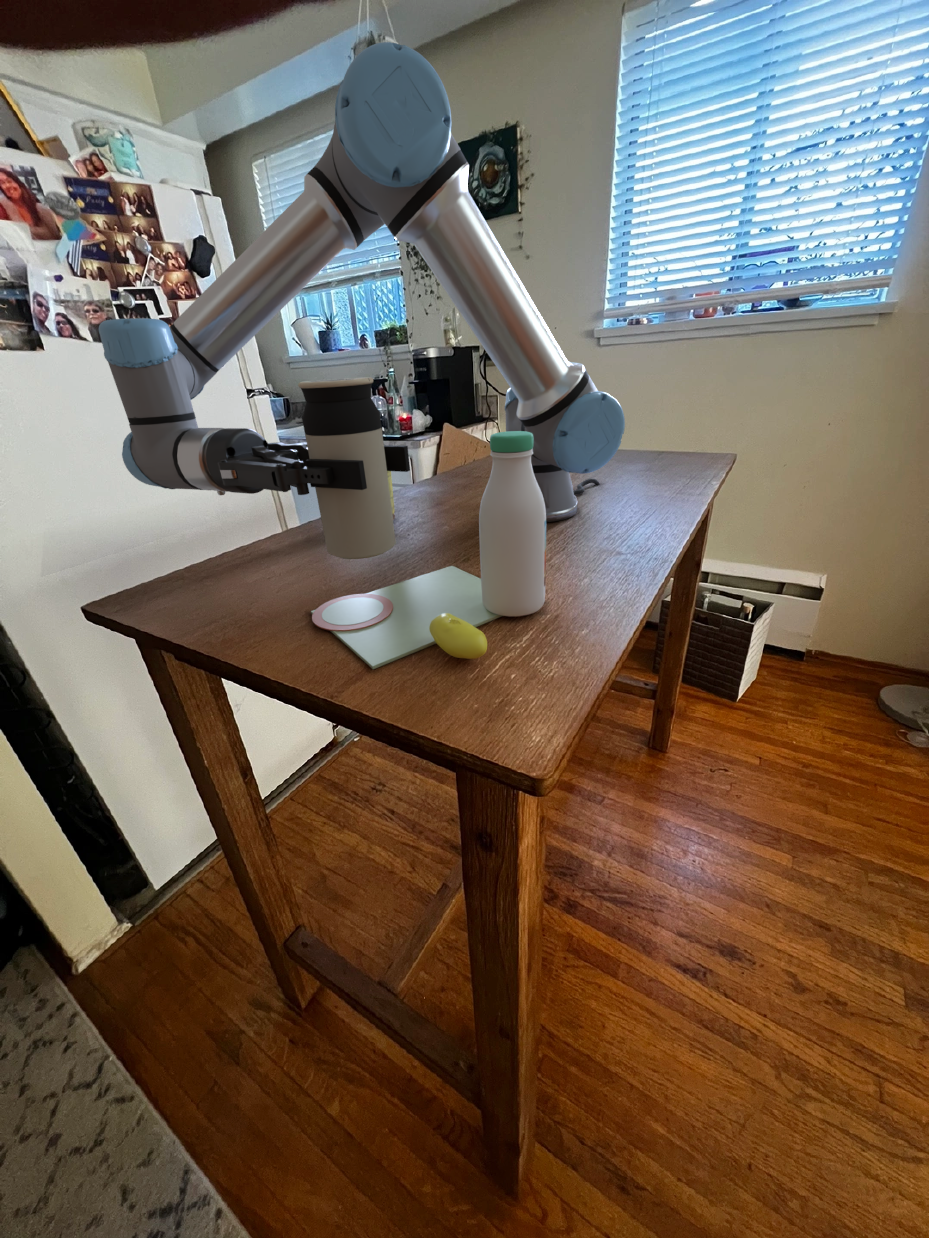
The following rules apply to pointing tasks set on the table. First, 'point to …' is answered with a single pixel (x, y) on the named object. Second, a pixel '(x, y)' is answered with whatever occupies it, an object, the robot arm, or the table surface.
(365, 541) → the travel mug
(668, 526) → the table surface
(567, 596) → the table surface
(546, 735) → the table surface
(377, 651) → the placemat
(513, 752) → the table surface
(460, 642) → the lemon
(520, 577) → the milk bottle
